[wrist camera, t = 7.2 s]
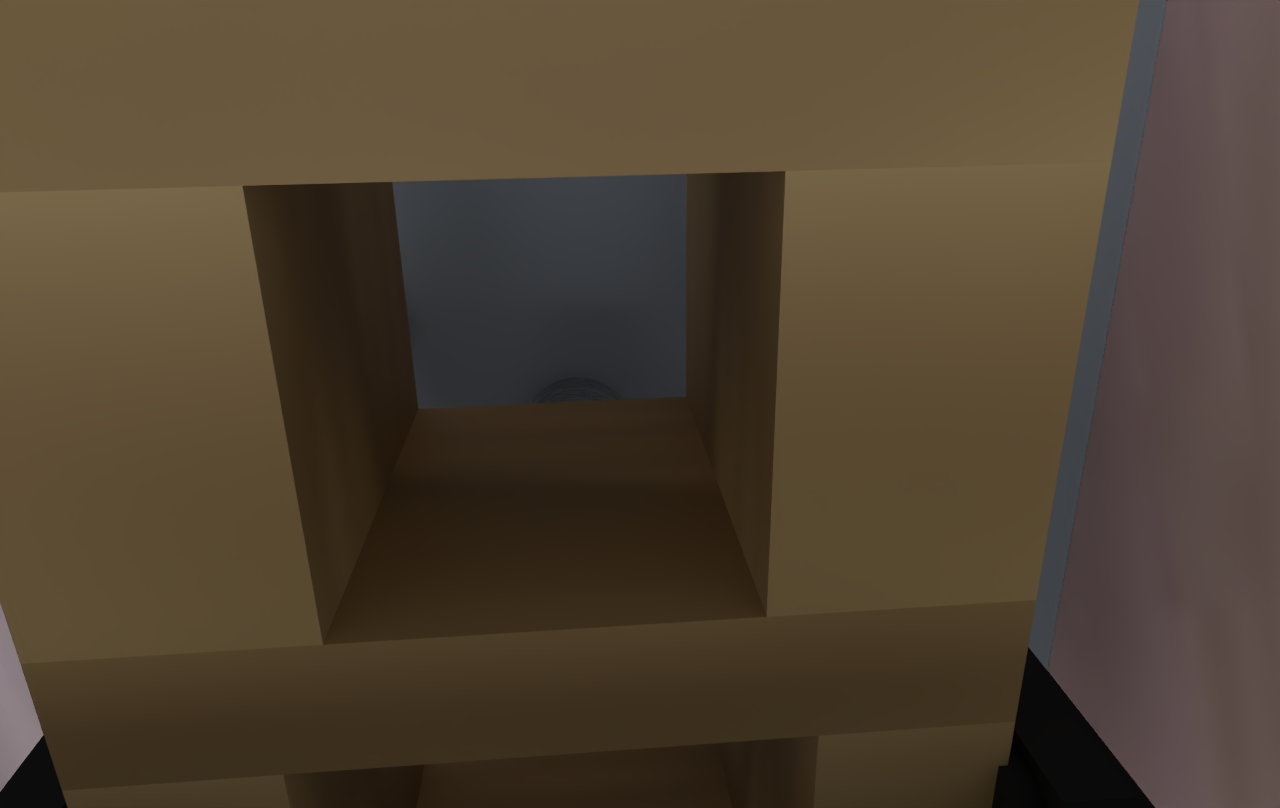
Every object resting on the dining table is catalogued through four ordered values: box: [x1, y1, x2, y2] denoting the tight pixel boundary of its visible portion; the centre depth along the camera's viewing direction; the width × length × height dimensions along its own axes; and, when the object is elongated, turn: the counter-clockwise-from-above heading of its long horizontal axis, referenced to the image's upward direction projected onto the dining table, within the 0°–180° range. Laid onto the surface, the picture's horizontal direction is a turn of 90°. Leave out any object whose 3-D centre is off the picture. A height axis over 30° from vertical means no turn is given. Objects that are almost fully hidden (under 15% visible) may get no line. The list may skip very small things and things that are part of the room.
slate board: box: [392, 0, 1167, 670], centre depth 17 cm, size 20×20×2 cm
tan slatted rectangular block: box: [0, 0, 1139, 808], centre depth 9 cm, size 14×6×4 cm, turn 1°
